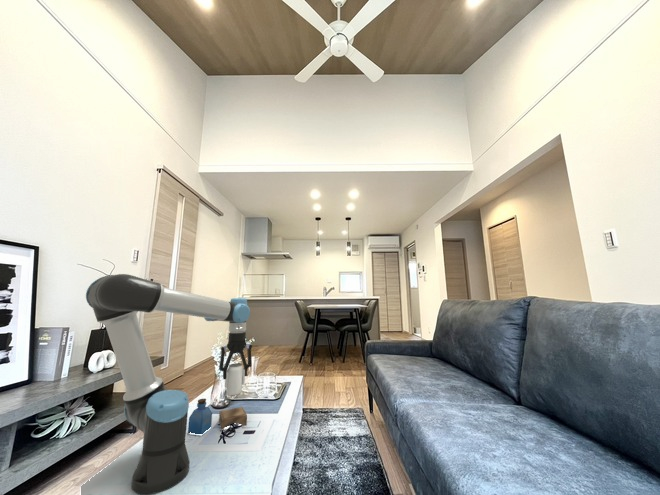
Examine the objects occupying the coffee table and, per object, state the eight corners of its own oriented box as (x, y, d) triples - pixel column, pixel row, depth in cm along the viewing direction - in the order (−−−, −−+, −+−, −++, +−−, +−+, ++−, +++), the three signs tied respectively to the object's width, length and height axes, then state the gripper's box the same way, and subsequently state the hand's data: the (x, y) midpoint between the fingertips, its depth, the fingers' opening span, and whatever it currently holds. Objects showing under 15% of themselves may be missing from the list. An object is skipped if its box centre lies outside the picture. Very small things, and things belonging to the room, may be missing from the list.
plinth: (221, 430, 110) (222, 419, 111) (218, 420, 119) (219, 410, 120) (246, 425, 115) (247, 414, 116) (242, 416, 124) (242, 405, 124)
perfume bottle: (198, 427, 113) (200, 396, 116) (211, 428, 112) (213, 397, 114) (187, 434, 108) (190, 402, 110) (201, 436, 106) (203, 403, 108)
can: (236, 396, 116) (238, 367, 118) (223, 395, 117) (225, 366, 119) (244, 391, 122) (245, 363, 124) (231, 390, 123) (233, 362, 125)
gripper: (215, 334, 116) (212, 391, 112) (260, 331, 125) (258, 384, 121) (213, 332, 122) (210, 386, 118) (256, 329, 131) (254, 379, 127)
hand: (234, 385), depth 120 cm, fingers closed on can, 6 cm apart
